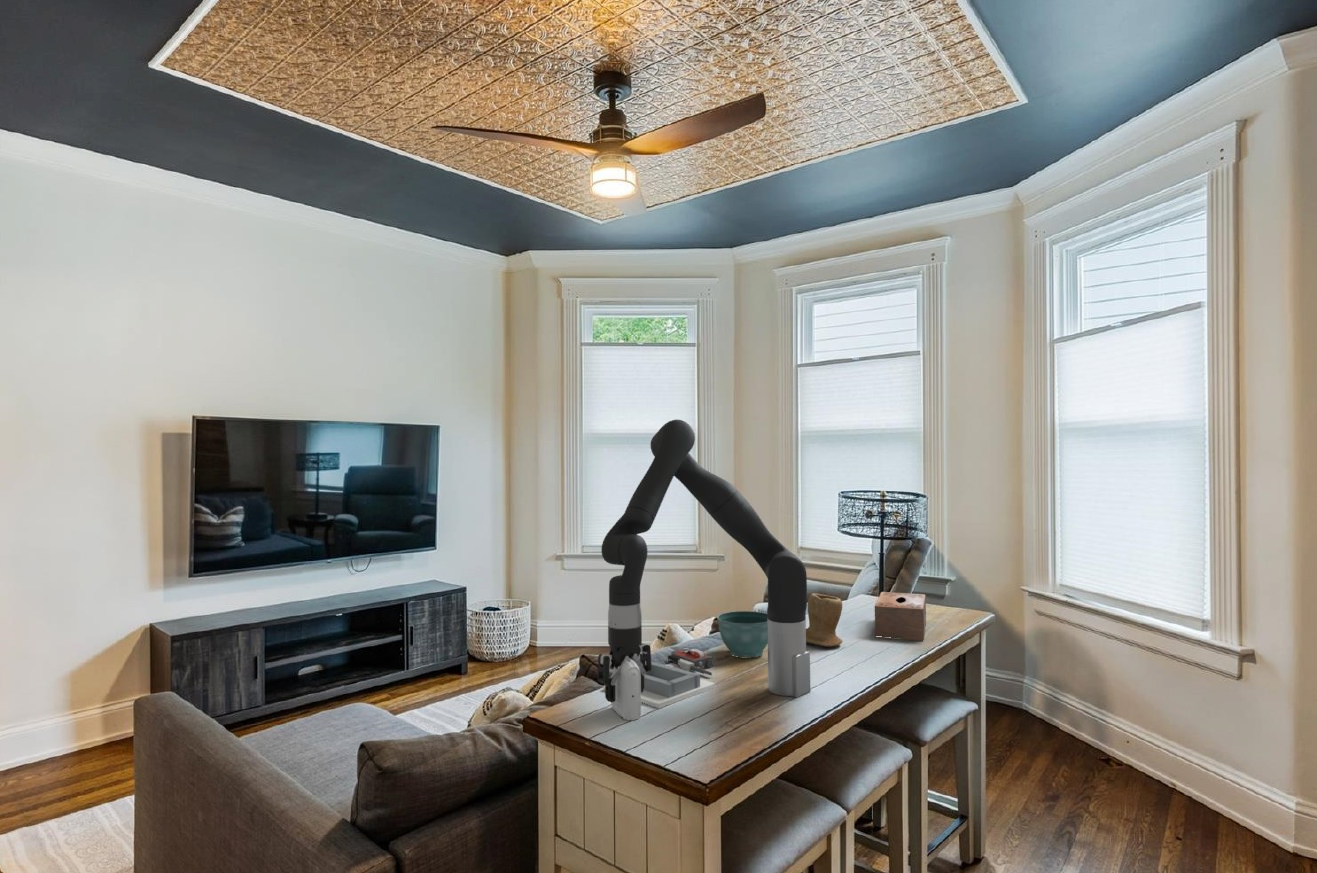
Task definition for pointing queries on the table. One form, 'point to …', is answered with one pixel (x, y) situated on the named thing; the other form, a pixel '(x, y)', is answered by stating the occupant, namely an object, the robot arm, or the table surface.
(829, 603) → the tan flared cylinder
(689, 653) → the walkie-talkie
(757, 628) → the flower pot
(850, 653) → the table surface
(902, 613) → the tissue box cover
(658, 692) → the dock
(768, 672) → the robot arm
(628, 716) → the photo printer
